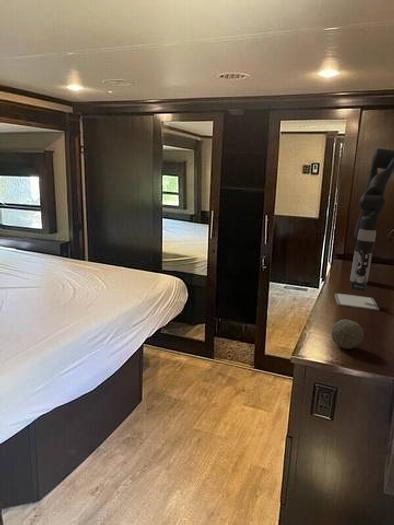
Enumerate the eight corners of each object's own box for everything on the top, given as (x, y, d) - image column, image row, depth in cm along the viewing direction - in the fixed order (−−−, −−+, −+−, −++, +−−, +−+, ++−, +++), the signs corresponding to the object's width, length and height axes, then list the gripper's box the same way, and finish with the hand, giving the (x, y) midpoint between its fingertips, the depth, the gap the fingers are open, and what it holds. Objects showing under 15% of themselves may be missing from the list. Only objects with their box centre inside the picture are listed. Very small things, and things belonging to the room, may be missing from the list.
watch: (350, 289, 184) (354, 266, 181) (354, 286, 191) (357, 263, 188) (363, 292, 181) (367, 268, 179) (366, 288, 188) (370, 265, 185)
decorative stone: (329, 349, 135) (333, 322, 132) (330, 340, 142) (334, 314, 140) (361, 356, 131) (366, 328, 129) (360, 346, 139) (365, 319, 137)
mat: (334, 294, 198) (334, 292, 198) (372, 298, 194) (372, 297, 194) (337, 305, 181) (338, 304, 181) (379, 310, 177) (380, 309, 177)
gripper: (378, 242, 173) (371, 278, 177) (372, 237, 186) (366, 270, 190) (359, 240, 174) (354, 276, 178) (355, 236, 188) (350, 269, 192)
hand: (360, 273), depth 184 cm, fingers closed on watch, 8 cm apart
